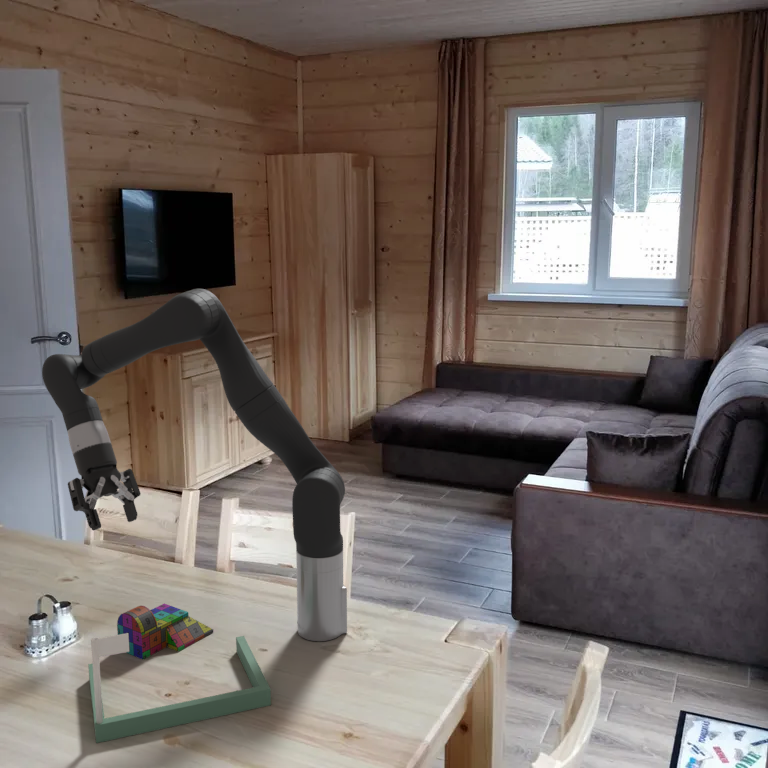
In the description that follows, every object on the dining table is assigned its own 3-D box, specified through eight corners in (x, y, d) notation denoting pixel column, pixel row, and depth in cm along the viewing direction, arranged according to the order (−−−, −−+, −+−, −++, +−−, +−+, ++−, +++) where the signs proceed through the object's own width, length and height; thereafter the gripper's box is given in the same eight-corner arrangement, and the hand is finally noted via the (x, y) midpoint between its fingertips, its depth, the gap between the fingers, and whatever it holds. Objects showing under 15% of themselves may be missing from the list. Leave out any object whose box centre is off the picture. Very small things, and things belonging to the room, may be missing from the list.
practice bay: (244, 650, 157) (241, 566, 154) (270, 705, 139) (268, 611, 136) (89, 679, 146) (83, 590, 143) (96, 743, 128) (89, 642, 125)
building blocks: (154, 665, 152) (152, 622, 150) (118, 650, 157) (116, 608, 156) (213, 633, 164) (211, 593, 162) (177, 620, 169) (176, 581, 168)
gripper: (71, 445, 156) (95, 526, 153) (131, 437, 168) (155, 512, 165) (49, 458, 160) (73, 537, 157) (110, 449, 172) (133, 523, 169)
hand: (115, 524), depth 161 cm, fingers open, 8 cm apart
